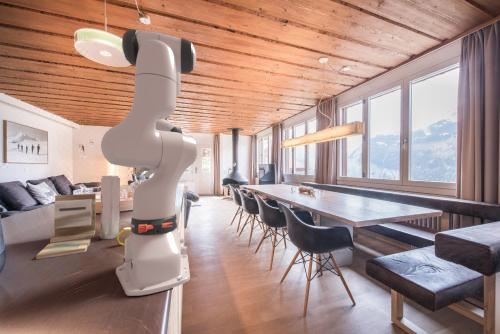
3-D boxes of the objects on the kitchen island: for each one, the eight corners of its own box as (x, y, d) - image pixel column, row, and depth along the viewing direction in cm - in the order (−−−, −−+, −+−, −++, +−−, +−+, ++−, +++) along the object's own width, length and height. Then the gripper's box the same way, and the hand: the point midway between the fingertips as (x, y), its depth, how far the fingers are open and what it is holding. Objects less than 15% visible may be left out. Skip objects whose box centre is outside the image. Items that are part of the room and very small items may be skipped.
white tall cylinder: (110, 239, 83) (110, 175, 83) (96, 238, 84) (96, 175, 85) (123, 234, 89) (123, 175, 90) (110, 233, 91) (110, 175, 91)
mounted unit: (93, 237, 86) (93, 195, 86) (50, 242, 80) (50, 197, 80) (95, 232, 93) (95, 193, 93) (56, 237, 86) (56, 195, 86)
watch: (134, 242, 81) (136, 226, 82) (136, 244, 79) (137, 228, 80) (116, 244, 78) (117, 228, 78) (117, 246, 76) (119, 229, 76)
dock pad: (85, 251, 71) (85, 248, 71) (36, 259, 65) (36, 255, 65) (90, 241, 81) (90, 237, 81) (48, 246, 75) (49, 243, 75)
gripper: (147, 151, 109) (126, 171, 101) (168, 149, 96) (145, 171, 88) (156, 160, 112) (136, 180, 105) (177, 159, 99) (156, 181, 91)
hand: (140, 176), depth 96 cm, fingers open, 8 cm apart
